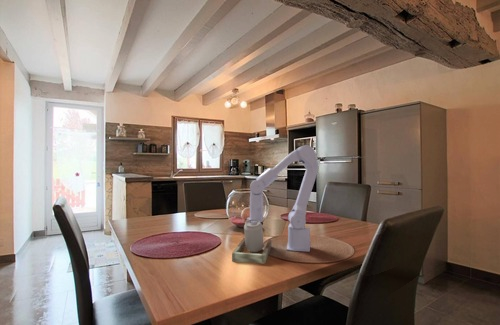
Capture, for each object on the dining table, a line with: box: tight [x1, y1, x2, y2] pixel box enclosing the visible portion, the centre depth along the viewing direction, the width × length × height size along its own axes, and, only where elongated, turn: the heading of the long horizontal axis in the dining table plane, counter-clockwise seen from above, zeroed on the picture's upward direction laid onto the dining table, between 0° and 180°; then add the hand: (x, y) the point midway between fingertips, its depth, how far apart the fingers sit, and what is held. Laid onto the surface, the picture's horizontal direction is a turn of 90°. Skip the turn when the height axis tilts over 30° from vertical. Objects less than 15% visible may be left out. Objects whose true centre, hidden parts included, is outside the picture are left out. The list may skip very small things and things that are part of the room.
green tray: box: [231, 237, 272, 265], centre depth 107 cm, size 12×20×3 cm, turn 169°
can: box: [243, 219, 265, 253], centre depth 109 cm, size 8×8×12 cm
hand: (256, 239), depth 114 cm, fingers closed
